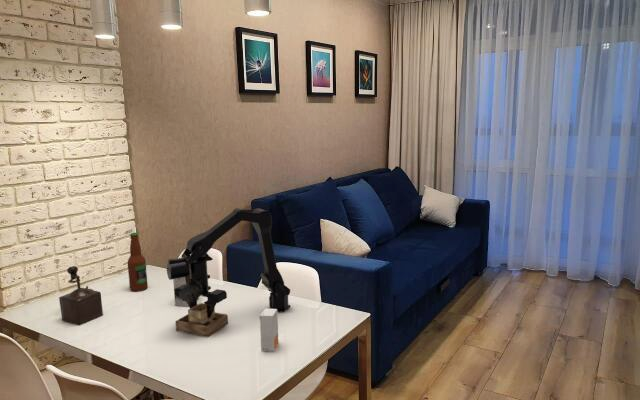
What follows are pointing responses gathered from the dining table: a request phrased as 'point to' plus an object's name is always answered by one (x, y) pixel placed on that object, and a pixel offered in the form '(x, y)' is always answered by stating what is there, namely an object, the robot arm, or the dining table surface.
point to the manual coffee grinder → (80, 302)
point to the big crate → (205, 329)
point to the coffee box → (178, 283)
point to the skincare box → (269, 330)
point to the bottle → (136, 266)
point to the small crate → (199, 314)
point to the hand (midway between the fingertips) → (201, 316)
